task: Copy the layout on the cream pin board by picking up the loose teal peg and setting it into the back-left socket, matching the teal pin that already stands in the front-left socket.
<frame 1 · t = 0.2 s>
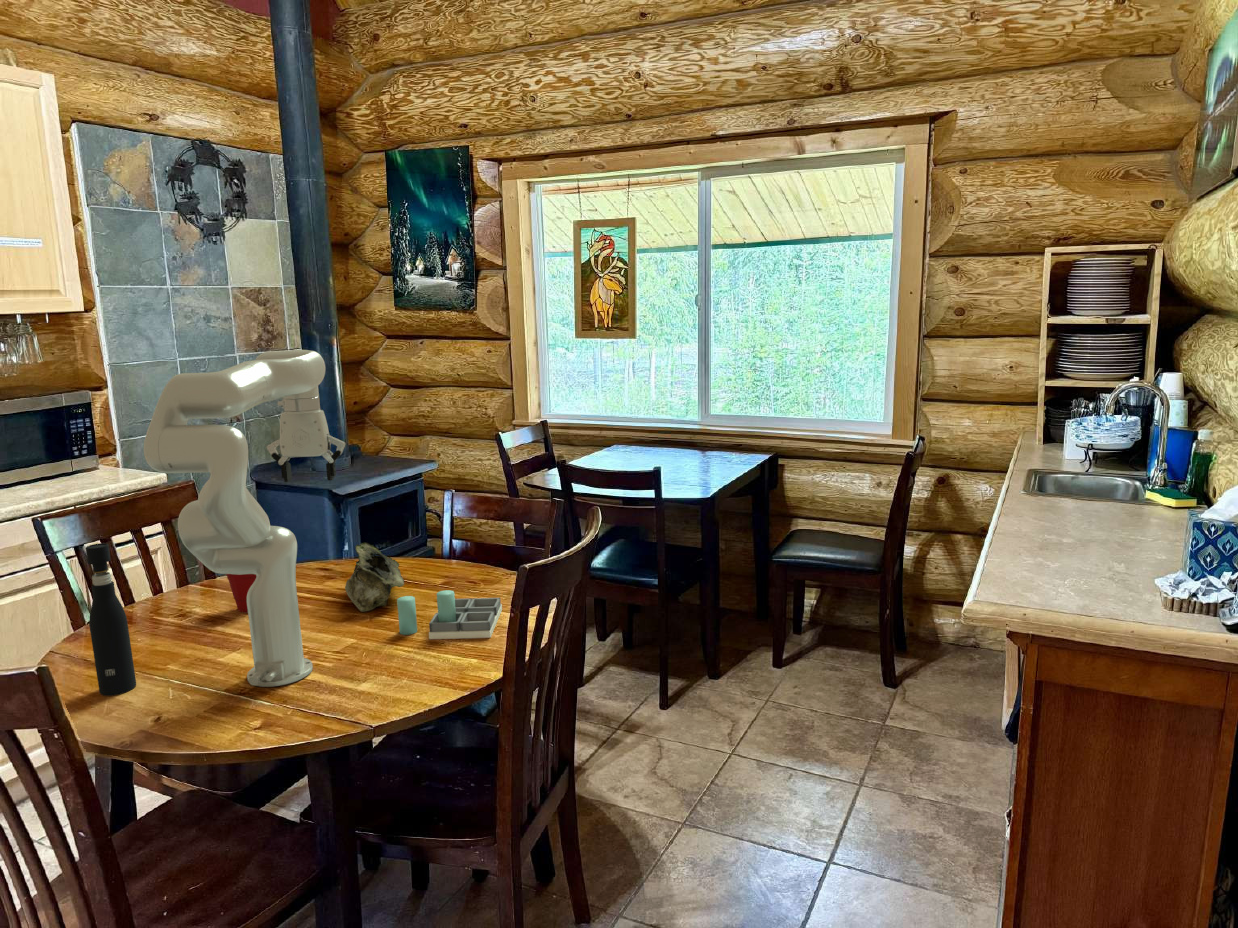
hand: (309, 480, 189), 36 cm above the table, tool pointing down, fingers open, 9 cm apart
teal peg: (408, 631, 194), on the table
hollow geode rock: (377, 596, 219), on the table
black water bottle: (118, 689, 168), on the table
pin board: (467, 623, 197), on the table
plastic cup: (251, 609, 212), on the table
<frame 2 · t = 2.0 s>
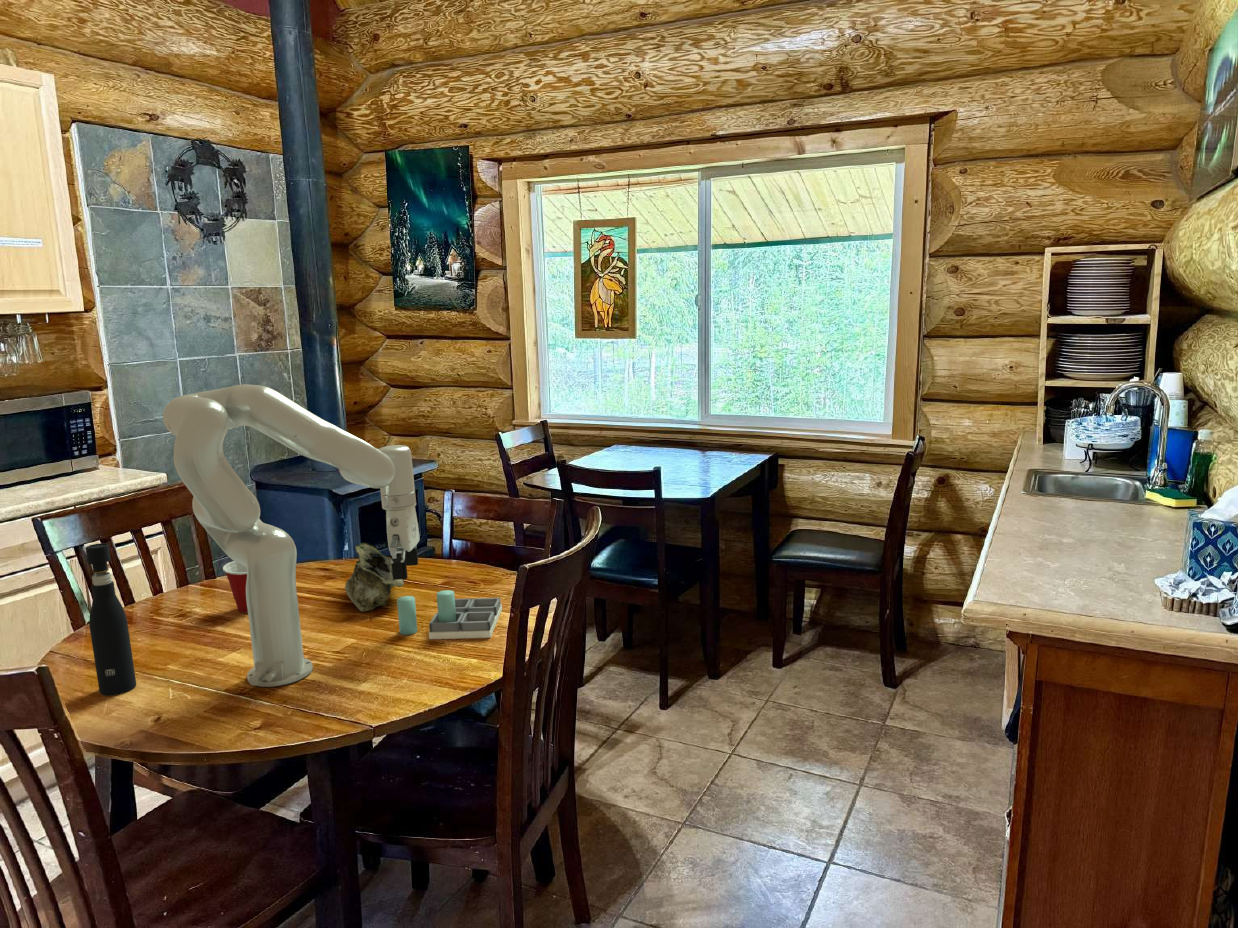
hand: (406, 571, 191), 14 cm above the table, tool pointing down, fingers open, 9 cm apart
nothing on the table moved.
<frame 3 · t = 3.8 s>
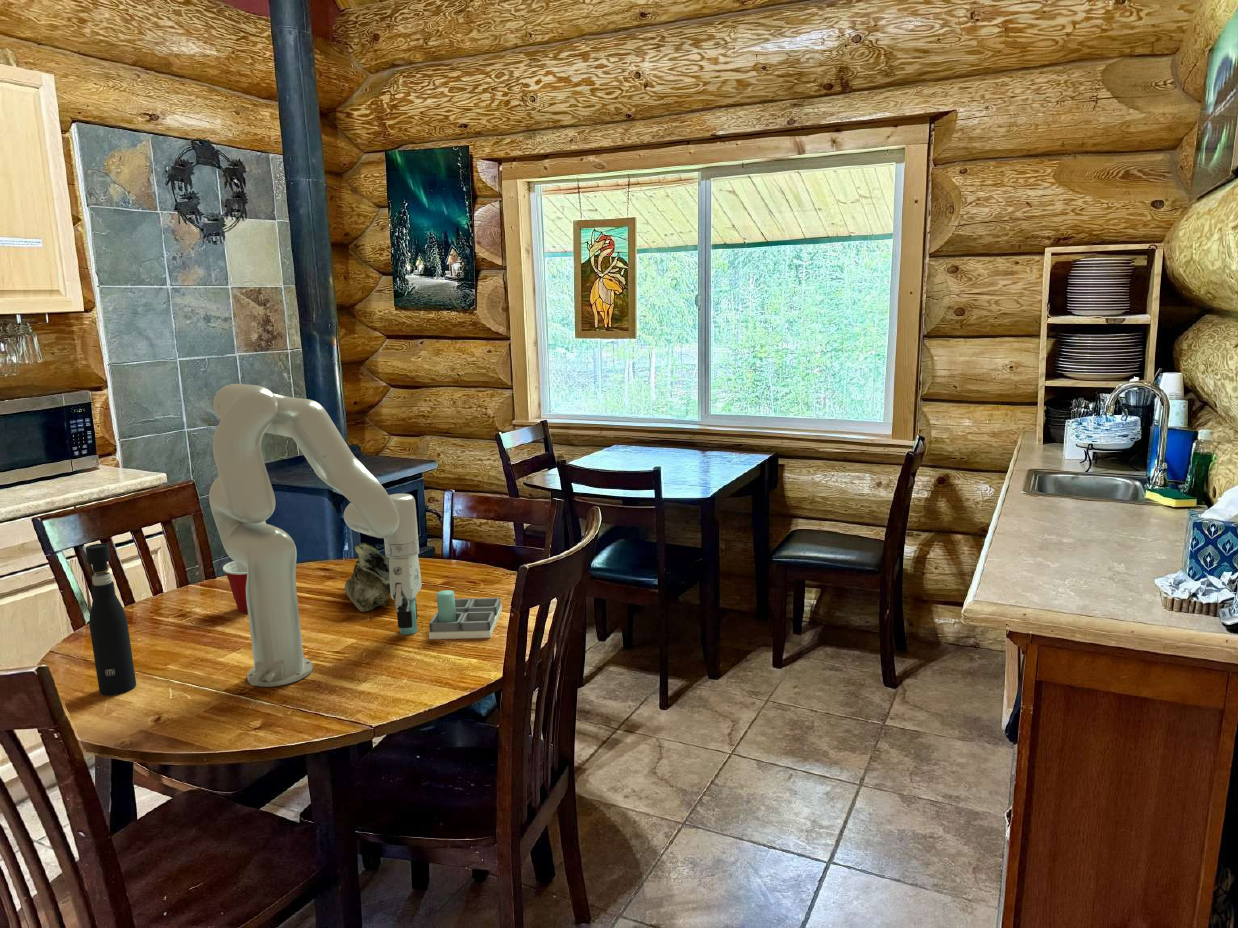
hand: (408, 622, 193), 2 cm above the table, tool pointing down, fingers closed on teal peg, 4 cm apart
teal peg: (408, 631, 194), on the table, touching gripper
everything else where it was.
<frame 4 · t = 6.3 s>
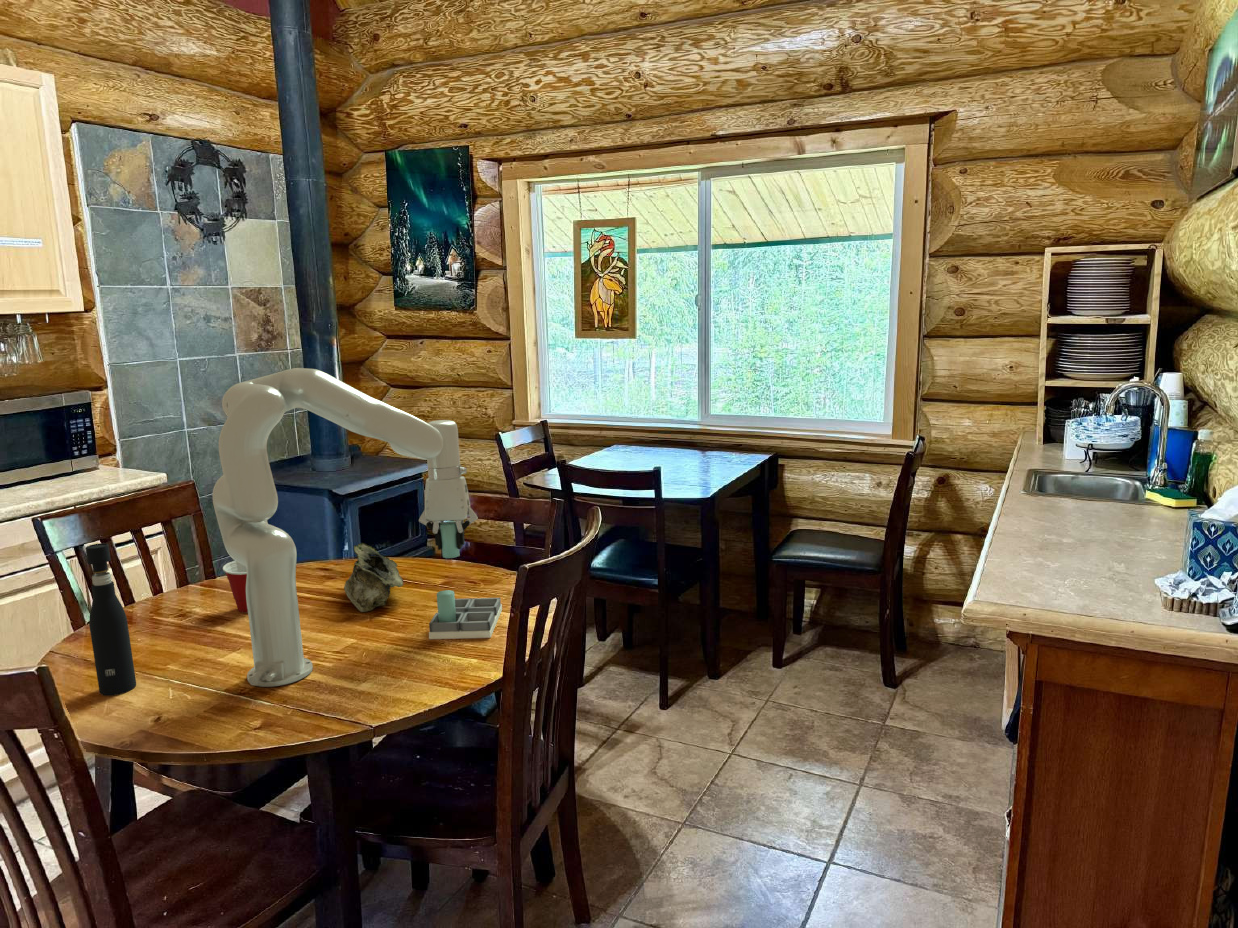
hand: (450, 547, 198), 18 cm above the table, tool pointing down, fingers closed on teal peg, 4 cm apart
teal peg: (451, 555, 199), point 16 cm above the table, touching gripper
everything else where it was.
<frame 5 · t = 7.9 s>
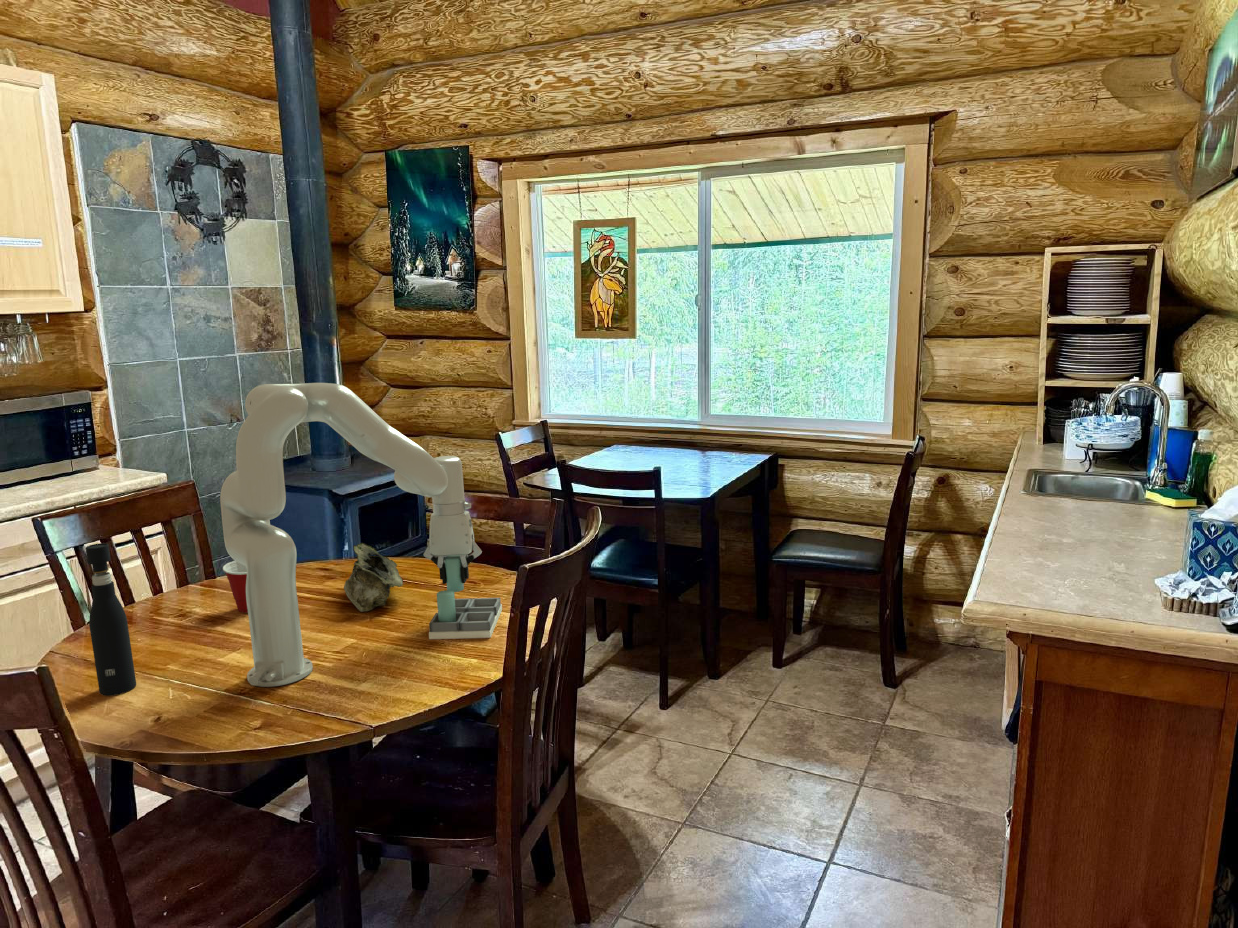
hand: (454, 581, 200), 9 cm above the table, tool pointing down, fingers closed on teal peg, 4 cm apart
teal peg: (455, 589, 201), point 7 cm above the table, touching gripper
everything else where it was.
when the fingers open (4 cm above the table, at t = 9.1 s): teal peg stays where it is, resting on pin board.
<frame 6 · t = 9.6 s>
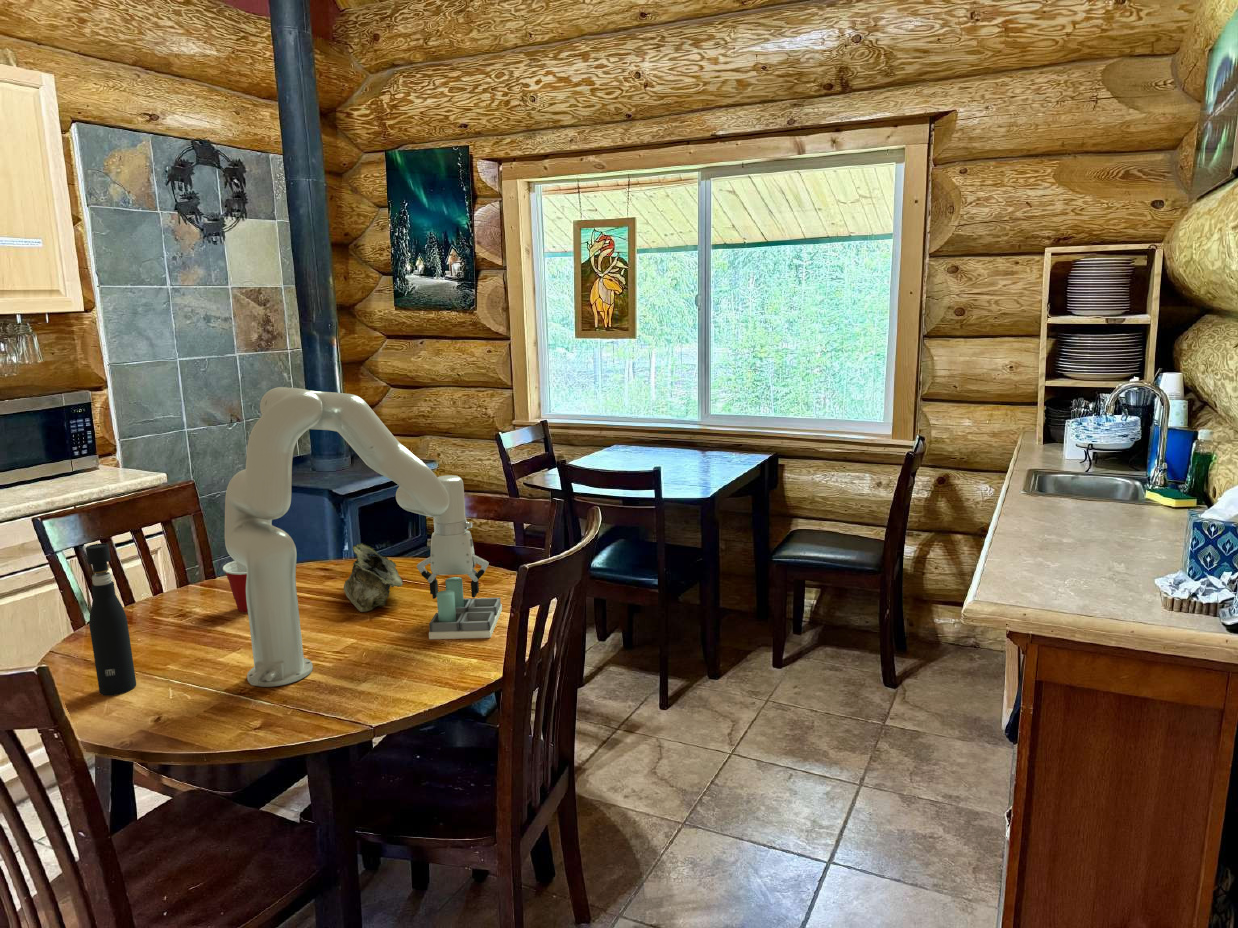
hand: (454, 596, 201), 5 cm above the table, tool pointing down, fingers open, 9 cm apart
teal peg: (456, 611, 201), point 2 cm above the table, touching pin board
everything else where it was.
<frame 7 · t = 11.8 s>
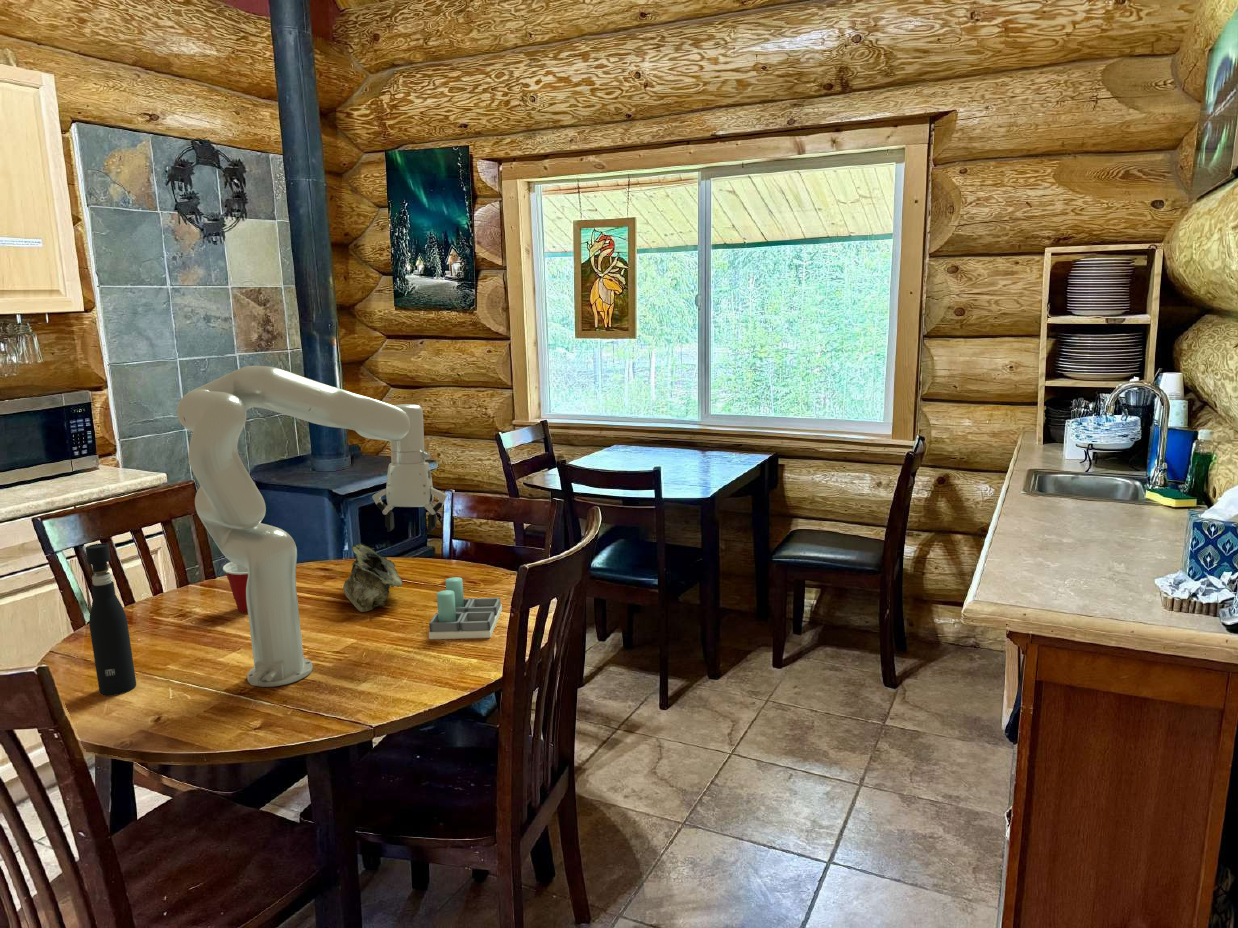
hand: (411, 530, 194), 23 cm above the table, tool pointing down, fingers open, 9 cm apart
nothing on the table moved.
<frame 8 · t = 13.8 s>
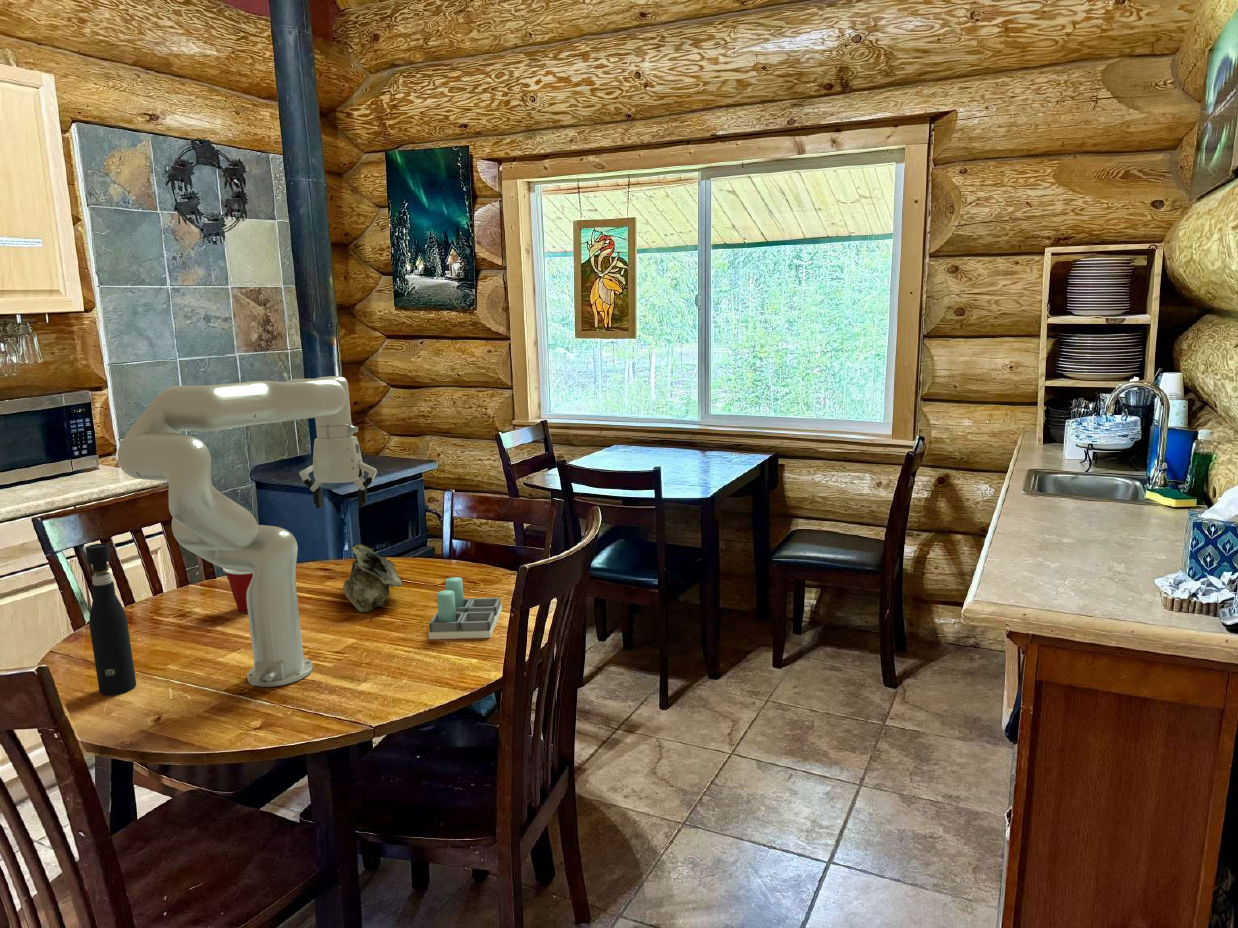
hand: (341, 506, 188), 30 cm above the table, tool pointing down, fingers open, 9 cm apart
nothing on the table moved.
at the end: teal peg 0.0 cm from the target spot on the pin board, point 1.5 cm above the pin board's base; teal peg tilted 0°; the gripper is holding nothing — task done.
